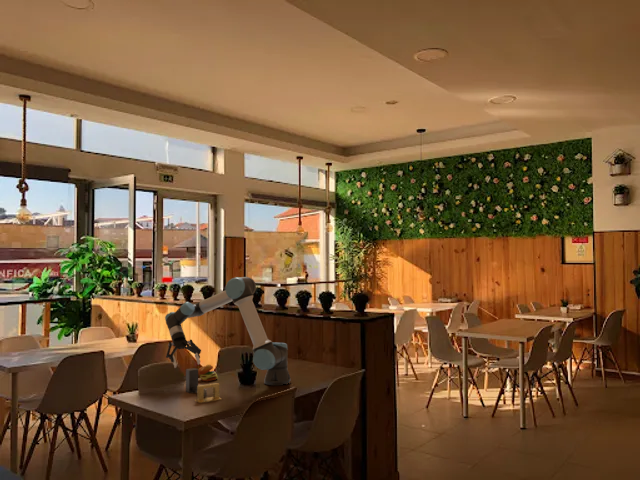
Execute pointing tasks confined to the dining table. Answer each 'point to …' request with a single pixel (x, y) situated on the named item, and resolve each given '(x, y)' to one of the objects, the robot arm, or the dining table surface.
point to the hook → (192, 381)
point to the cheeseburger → (207, 373)
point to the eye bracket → (201, 397)
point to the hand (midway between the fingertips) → (187, 364)
